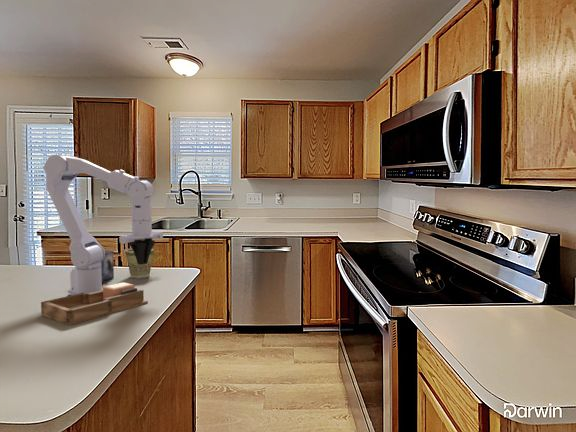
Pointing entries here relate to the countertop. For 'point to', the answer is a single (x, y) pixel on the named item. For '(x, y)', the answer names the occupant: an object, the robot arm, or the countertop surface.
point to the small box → (107, 266)
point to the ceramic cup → (138, 269)
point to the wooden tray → (90, 305)
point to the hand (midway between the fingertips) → (142, 263)
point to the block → (116, 289)
